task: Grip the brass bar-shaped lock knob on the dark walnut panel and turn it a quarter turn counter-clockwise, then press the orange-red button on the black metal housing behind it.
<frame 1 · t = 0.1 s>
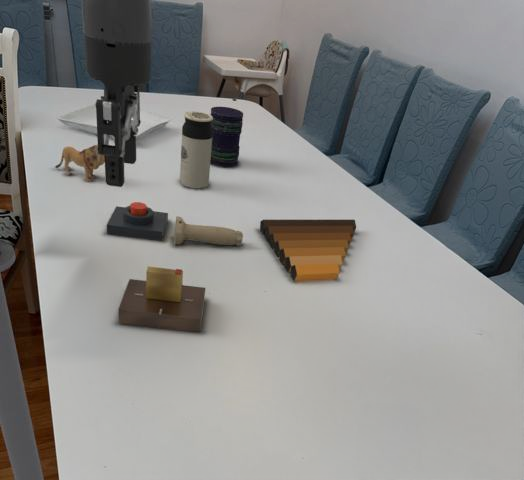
hand: (121, 173, 67), 27 cm above the table, tool pointing down, fingers open, 8 cm apart
storage jar: (222, 162, 156), on the table
lock knob: (164, 284, 86), point 6 cm above the table, hinge at 0.0°
handle: (242, 238, 114), point 2 cm above the table
square plate: (117, 129, 166), on the table
button housing: (138, 227, 114), on the table
pan flute: (324, 253, 118), on the table
button: (138, 209, 111), point 4 cm above the table, slide at 0.1 cm
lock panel: (163, 311, 90), on the table
lion figurine: (83, 176, 132), on the table
travel mug: (194, 184, 139), on the table
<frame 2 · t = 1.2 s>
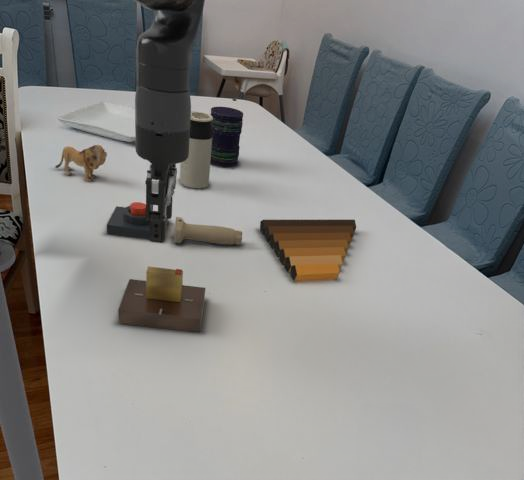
hand: (161, 229, 79), 17 cm above the table, tool pointing down, fingers open, 8 cm apart
nothing on the table moved.
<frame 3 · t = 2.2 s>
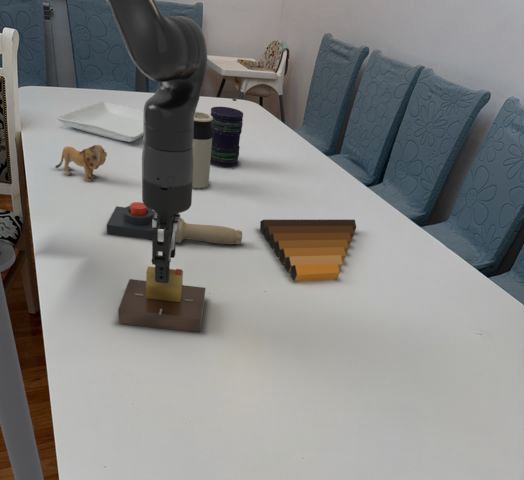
hand: (165, 268, 85), 9 cm above the table, tool pointing down, fingers open, 8 cm apart
nothing on the table moved.
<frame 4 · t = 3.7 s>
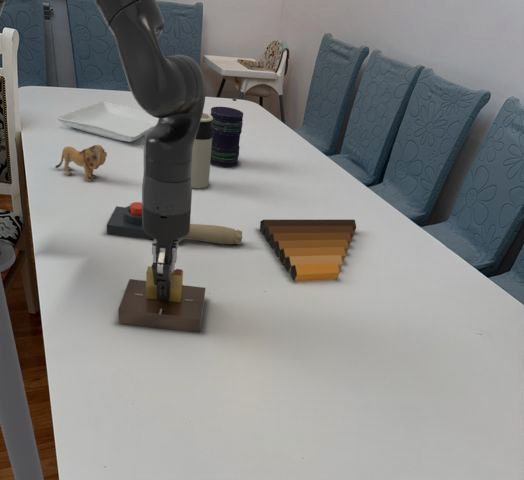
hand: (164, 295, 88), 4 cm above the table, tool pointing down, fingers closed on lock knob, 2 cm apart
lock knob: (164, 284, 86), point 6 cm above the table, hinge at 0.0°, touching gripper
everything else where it was.
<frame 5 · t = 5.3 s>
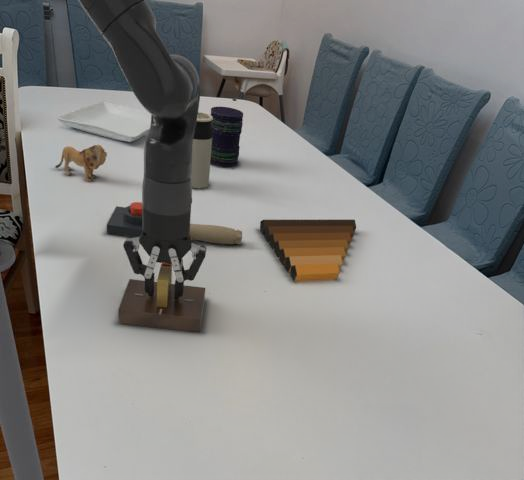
hand: (164, 295, 88), 4 cm above the table, tool pointing down, fingers open, 4 cm apart
lock knob: (164, 284, 86), point 6 cm above the table, hinge at 90.3°
everything else where it was.
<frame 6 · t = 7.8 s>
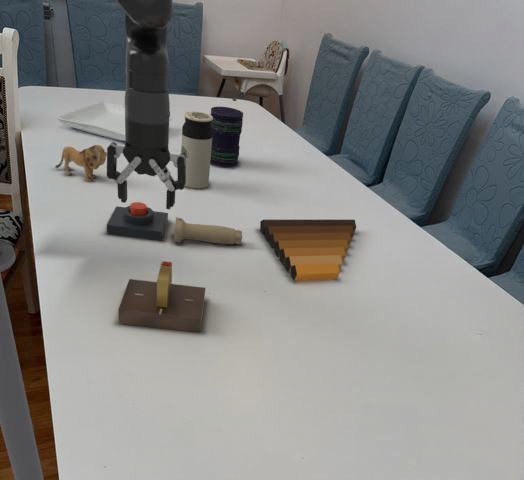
hand: (146, 204, 96), 12 cm above the table, tool pointing down, fingers open, 8 cm apart
nothing on the table moved.
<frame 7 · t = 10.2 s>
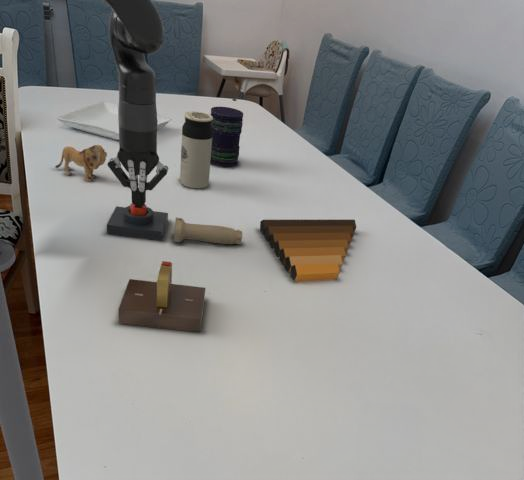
hand: (138, 205, 111), 5 cm above the table, tool pointing down, fingers closed
button: (138, 209, 111), point 4 cm above the table, slide at 0.0 cm, touching gripper
everything else where it was.
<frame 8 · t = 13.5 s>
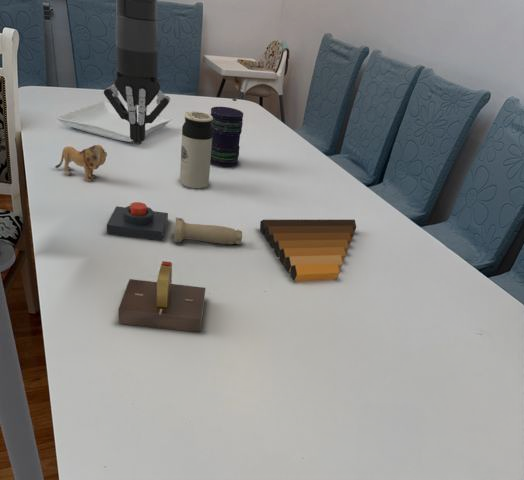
hand: (137, 142, 102), 19 cm above the table, tool pointing down, fingers closed
button: (138, 209, 111), point 4 cm above the table, slide at 0.1 cm
everything else where it was.
at the end: lock knob at +90° (first picture: +0°); button pushed in 1.1 cm at the most during the clip, back to where it started at the end; button slide at 0.1 cm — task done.
